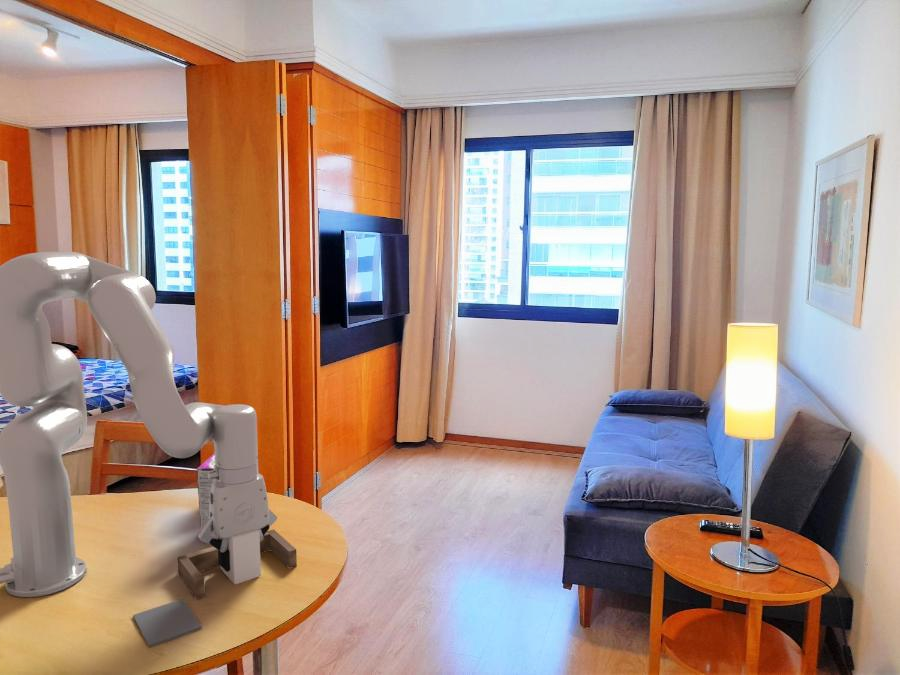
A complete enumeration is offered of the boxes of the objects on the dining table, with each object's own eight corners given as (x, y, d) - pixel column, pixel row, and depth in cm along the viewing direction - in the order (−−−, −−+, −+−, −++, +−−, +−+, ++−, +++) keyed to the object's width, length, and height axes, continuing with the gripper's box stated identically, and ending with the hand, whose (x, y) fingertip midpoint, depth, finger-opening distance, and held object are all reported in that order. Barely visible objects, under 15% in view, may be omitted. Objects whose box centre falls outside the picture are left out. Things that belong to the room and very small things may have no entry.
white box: (234, 584, 118) (232, 538, 116) (220, 568, 123) (219, 524, 122) (260, 575, 121) (259, 531, 119) (246, 560, 126) (244, 517, 125)
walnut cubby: (196, 599, 113) (195, 580, 112) (178, 574, 121) (177, 556, 120) (296, 566, 125) (296, 549, 124) (274, 545, 133) (273, 529, 132)
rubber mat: (149, 647, 100) (149, 645, 100) (133, 617, 107) (133, 614, 107) (201, 628, 105) (201, 626, 105) (182, 600, 112) (182, 598, 112)
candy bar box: (219, 519, 144) (216, 449, 141) (241, 520, 144) (239, 450, 141) (199, 543, 133) (195, 468, 130) (223, 544, 133) (220, 468, 130)
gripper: (196, 489, 110) (201, 587, 113) (288, 468, 121) (290, 557, 124) (182, 476, 116) (187, 569, 119) (272, 456, 127) (274, 543, 130)
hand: (240, 562), depth 122 cm, fingers closed on white box, 5 cm apart
